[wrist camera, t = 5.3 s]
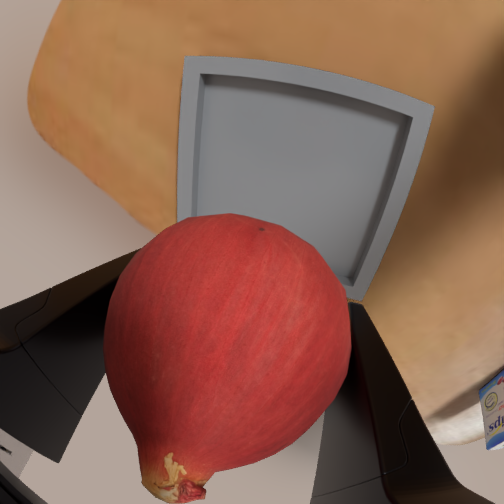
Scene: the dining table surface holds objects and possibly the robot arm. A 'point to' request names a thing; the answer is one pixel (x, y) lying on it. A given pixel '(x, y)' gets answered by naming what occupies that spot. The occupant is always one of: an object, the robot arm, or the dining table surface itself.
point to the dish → (300, 155)
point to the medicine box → (493, 411)
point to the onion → (222, 348)
